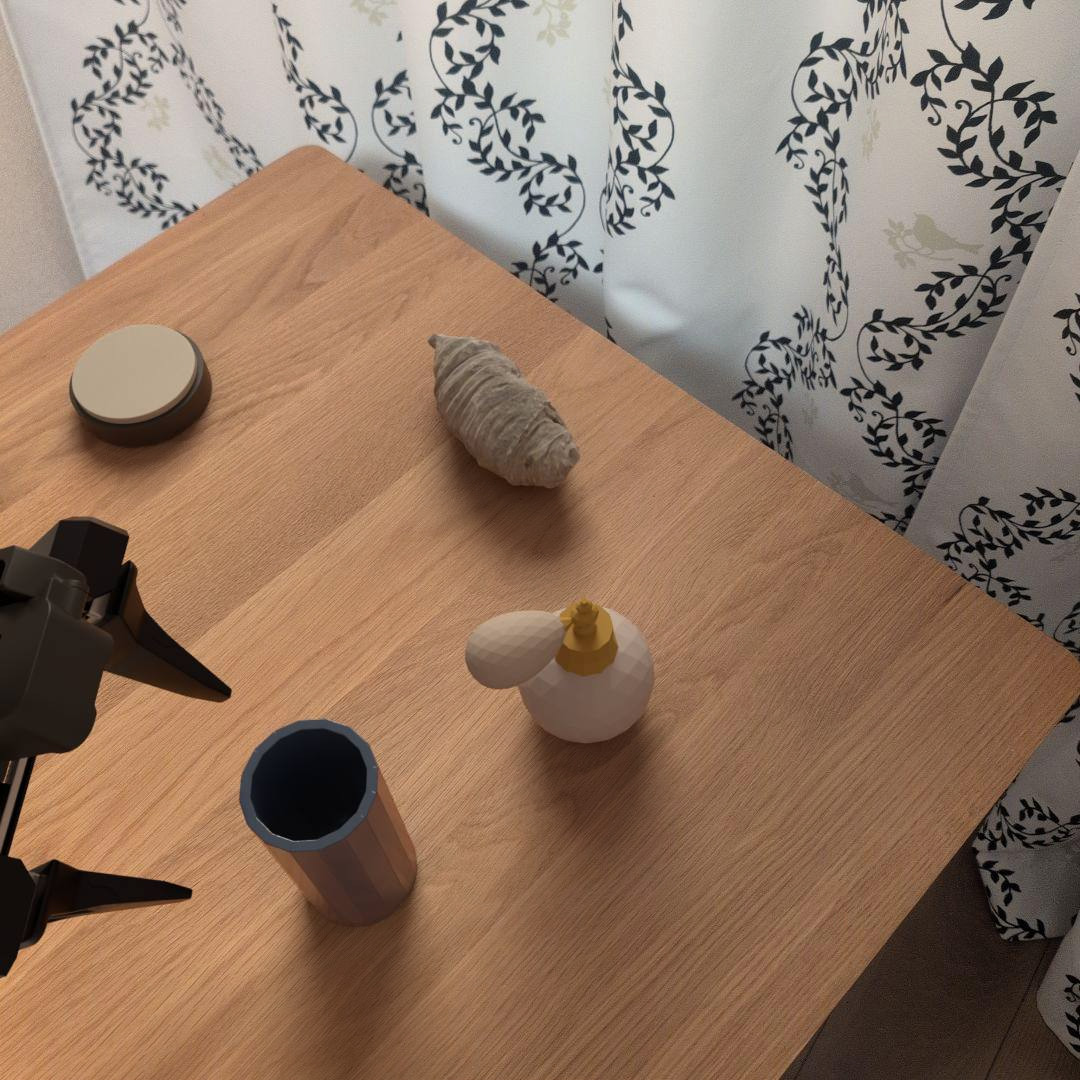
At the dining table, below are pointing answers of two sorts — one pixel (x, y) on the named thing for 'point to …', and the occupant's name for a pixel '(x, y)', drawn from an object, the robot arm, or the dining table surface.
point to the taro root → (500, 413)
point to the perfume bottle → (567, 668)
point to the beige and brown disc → (140, 385)
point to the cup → (329, 820)
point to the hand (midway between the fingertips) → (208, 791)
